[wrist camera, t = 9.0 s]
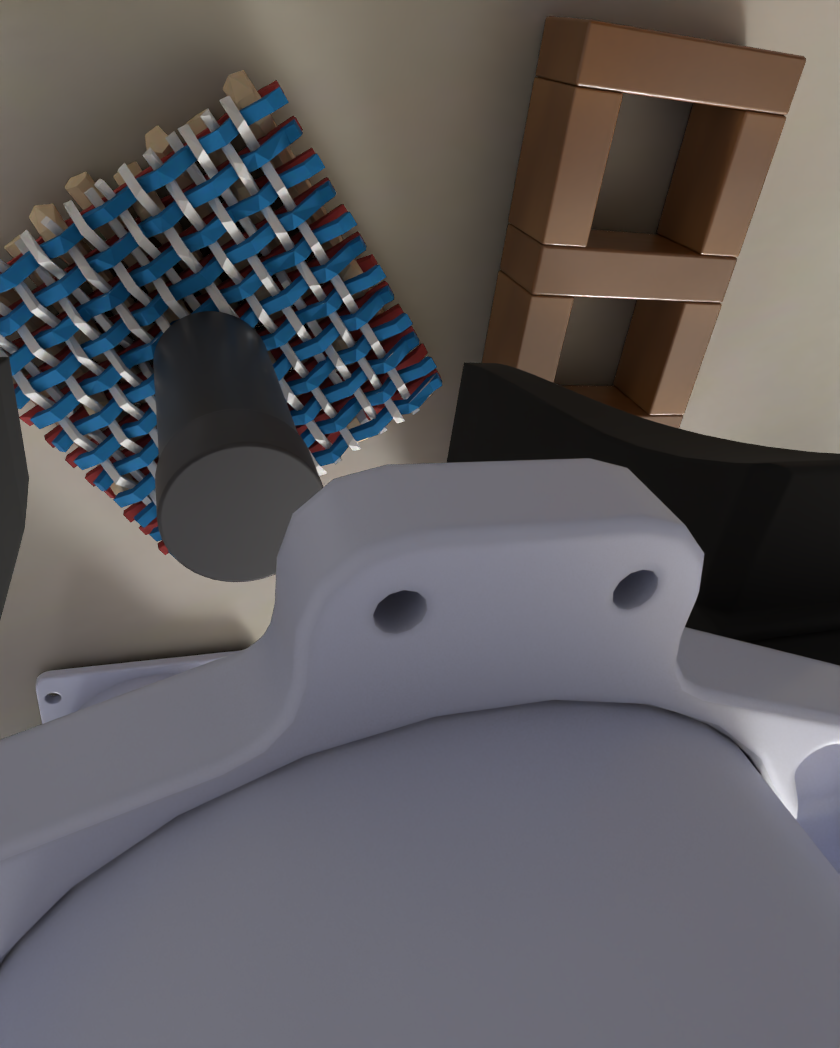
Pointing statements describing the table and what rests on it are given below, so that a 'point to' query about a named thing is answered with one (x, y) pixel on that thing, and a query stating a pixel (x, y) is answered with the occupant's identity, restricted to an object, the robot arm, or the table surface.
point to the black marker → (225, 450)
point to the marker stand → (687, 218)
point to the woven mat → (204, 297)
